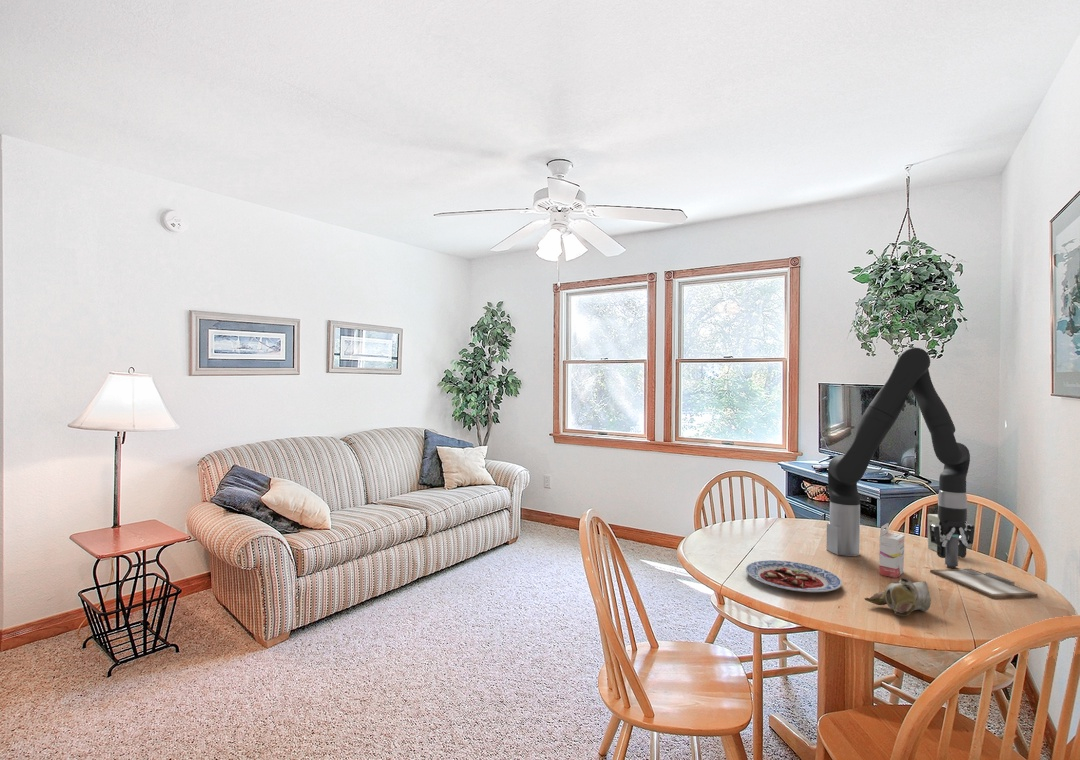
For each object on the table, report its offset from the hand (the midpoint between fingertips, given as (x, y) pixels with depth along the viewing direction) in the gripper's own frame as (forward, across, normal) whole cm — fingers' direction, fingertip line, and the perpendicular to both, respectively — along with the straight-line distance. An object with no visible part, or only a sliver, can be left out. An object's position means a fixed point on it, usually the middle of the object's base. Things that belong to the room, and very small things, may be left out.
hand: (951, 557), depth 180 cm
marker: (+3, 0, 0) cm, 3 cm away
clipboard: (+3, -4, -14) cm, 15 cm away
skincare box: (+3, +11, +17) cm, 21 cm away
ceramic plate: (+4, -59, -8) cm, 60 cm away
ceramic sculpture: (+4, -43, -31) cm, 53 cm away
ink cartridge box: (+3, -24, -4) cm, 25 cm away
